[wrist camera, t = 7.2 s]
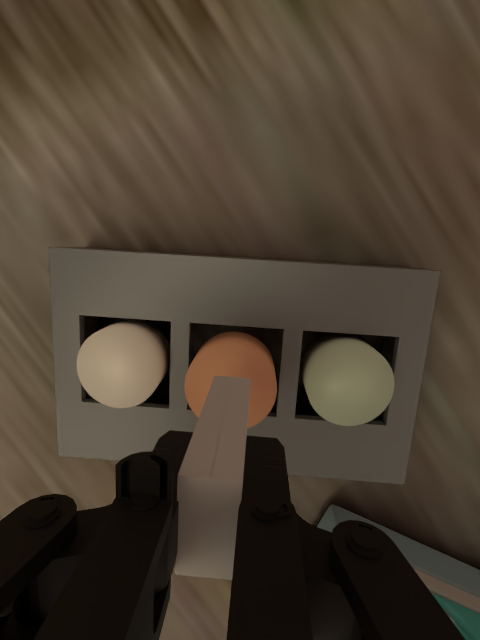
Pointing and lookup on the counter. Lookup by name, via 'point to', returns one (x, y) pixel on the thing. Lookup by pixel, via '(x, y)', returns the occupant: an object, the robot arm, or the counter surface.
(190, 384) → the button terracotta
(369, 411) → the button sage
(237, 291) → the grey piece
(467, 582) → the radio
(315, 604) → the robot arm
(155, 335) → the button ivory
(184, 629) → the counter surface
